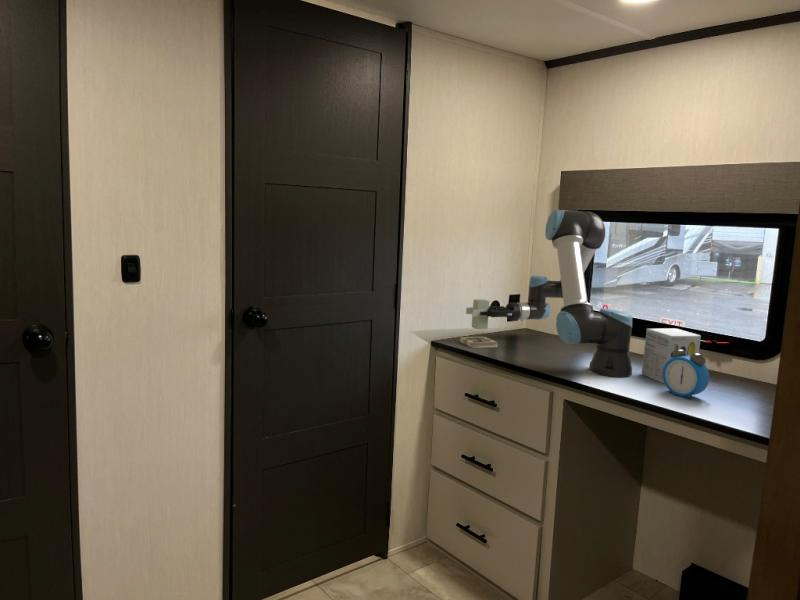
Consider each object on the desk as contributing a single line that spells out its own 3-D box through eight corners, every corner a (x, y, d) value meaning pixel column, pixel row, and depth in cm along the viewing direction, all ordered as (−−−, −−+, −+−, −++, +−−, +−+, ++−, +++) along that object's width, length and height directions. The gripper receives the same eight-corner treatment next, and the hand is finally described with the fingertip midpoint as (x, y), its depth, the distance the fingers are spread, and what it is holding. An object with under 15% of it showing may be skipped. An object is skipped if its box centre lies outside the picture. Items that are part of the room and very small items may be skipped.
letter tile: (497, 347, 259) (497, 342, 259) (472, 347, 255) (472, 343, 255) (484, 340, 270) (484, 336, 270) (459, 341, 266) (460, 337, 266)
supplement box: (664, 384, 213) (670, 335, 211) (640, 374, 226) (645, 328, 223) (696, 383, 217) (702, 335, 214) (670, 373, 229) (676, 327, 227)
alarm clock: (659, 391, 204) (664, 347, 202) (670, 388, 208) (675, 346, 206) (697, 402, 194) (702, 356, 191) (707, 399, 197) (713, 354, 195)
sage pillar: (487, 328, 260) (489, 301, 258) (476, 329, 259) (478, 301, 257) (481, 326, 265) (483, 299, 263) (471, 326, 263) (473, 299, 261)
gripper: (527, 323, 259) (478, 324, 251) (505, 315, 276) (459, 316, 268) (528, 306, 258) (480, 307, 250) (506, 299, 275) (460, 299, 267)
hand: (469, 312), depth 259 cm, fingers closed on sage pillar, 5 cm apart
